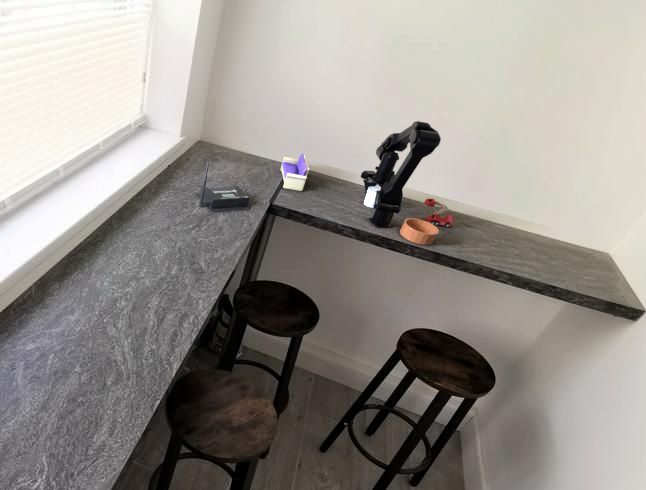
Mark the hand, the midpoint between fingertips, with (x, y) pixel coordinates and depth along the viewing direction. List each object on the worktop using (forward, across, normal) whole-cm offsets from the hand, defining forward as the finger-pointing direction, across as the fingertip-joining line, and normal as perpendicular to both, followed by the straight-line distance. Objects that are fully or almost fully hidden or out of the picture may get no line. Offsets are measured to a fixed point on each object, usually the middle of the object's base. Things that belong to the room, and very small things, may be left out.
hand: (371, 202), depth 206 cm
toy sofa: (+1, +22, +27) cm, 35 cm away
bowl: (+1, -26, -4) cm, 26 cm away
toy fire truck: (+2, -16, -20) cm, 26 cm away
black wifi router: (+2, +1, +68) cm, 68 cm away
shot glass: (+2, 0, 0) cm, 2 cm away
